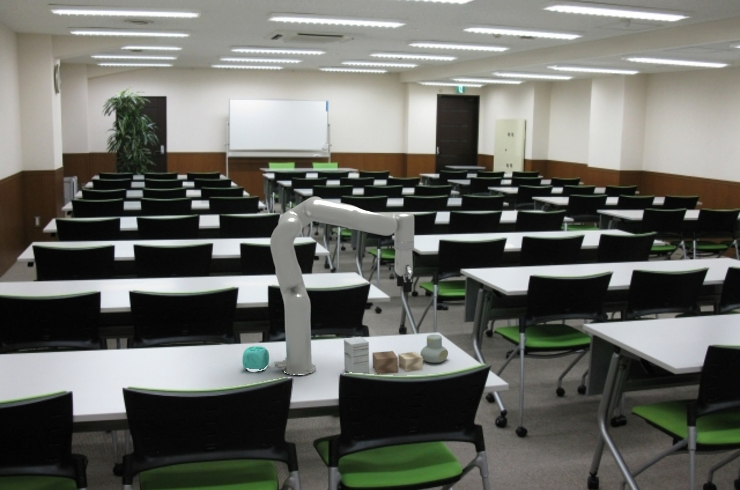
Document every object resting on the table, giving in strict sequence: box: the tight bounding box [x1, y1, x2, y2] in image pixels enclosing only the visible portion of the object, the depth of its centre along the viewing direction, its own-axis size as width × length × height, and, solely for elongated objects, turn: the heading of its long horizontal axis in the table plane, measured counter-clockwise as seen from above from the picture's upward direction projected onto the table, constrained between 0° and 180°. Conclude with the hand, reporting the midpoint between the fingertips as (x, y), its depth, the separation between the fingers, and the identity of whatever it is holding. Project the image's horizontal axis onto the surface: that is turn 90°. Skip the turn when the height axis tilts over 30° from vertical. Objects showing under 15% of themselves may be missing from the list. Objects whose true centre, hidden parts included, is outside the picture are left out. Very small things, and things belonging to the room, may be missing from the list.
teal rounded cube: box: [241, 345, 270, 370], centre depth 280 cm, size 8×8×8 cm
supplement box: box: [343, 336, 370, 374], centre depth 274 cm, size 7×7×13 cm
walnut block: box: [372, 350, 399, 375], centre depth 277 cm, size 8×8×6 cm
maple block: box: [397, 351, 424, 372], centre depth 279 cm, size 7×7×5 cm
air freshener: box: [420, 334, 449, 364], centre depth 286 cm, size 11×8×10 cm
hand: (404, 289), depth 280 cm, fingers open, 9 cm apart
